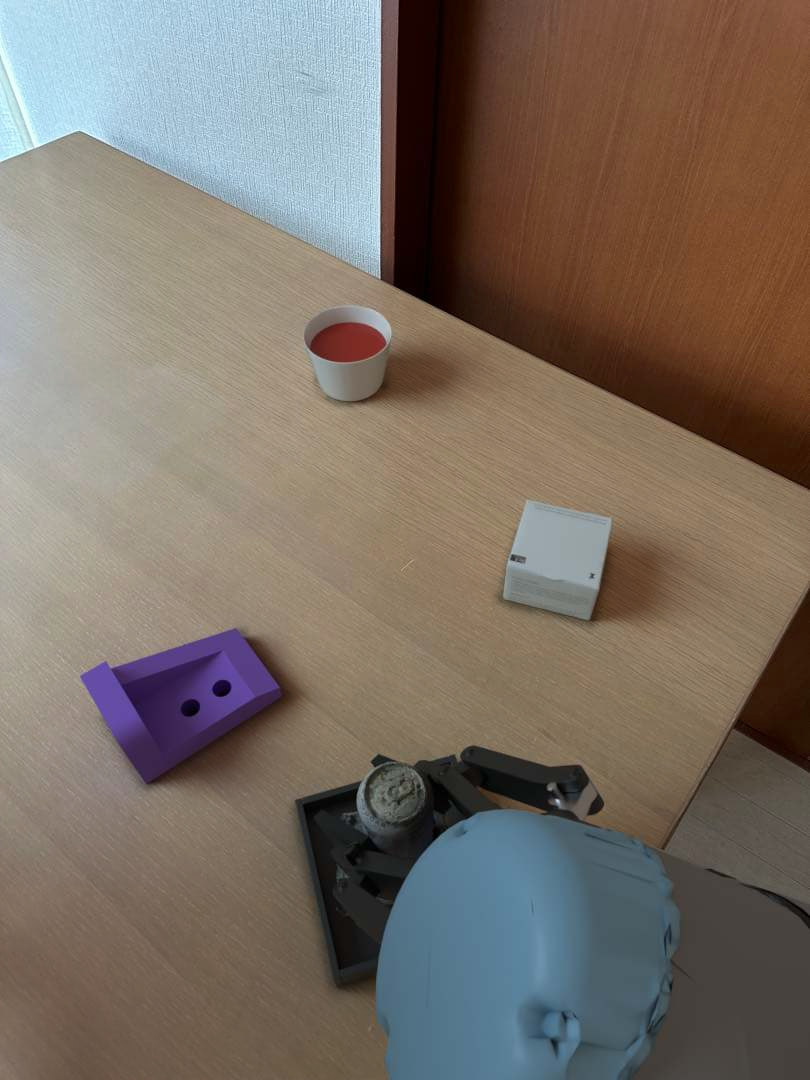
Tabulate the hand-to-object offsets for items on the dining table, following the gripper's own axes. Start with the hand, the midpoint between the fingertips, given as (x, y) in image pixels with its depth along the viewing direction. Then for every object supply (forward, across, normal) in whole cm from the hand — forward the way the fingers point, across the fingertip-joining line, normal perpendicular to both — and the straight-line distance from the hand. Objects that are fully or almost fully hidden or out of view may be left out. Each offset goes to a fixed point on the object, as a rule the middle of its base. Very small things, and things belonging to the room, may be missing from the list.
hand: (357, 800), depth 55 cm
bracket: (+17, -2, +7) cm, 18 cm away
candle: (+30, +33, +20) cm, 49 cm away
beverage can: (0, 0, -5) cm, 5 cm away
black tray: (+2, 0, -7) cm, 8 cm away
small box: (+8, +27, -2) cm, 29 cm away
